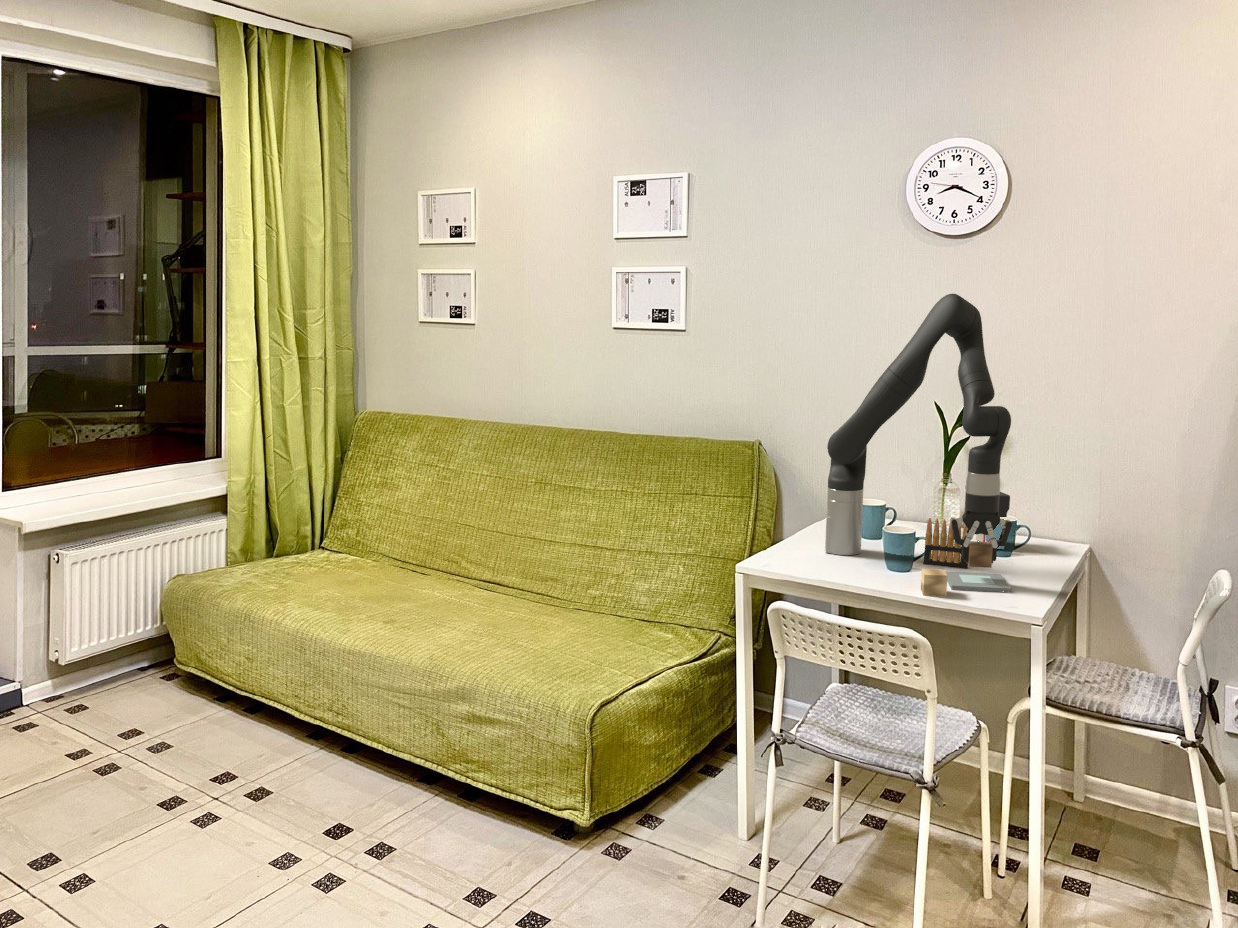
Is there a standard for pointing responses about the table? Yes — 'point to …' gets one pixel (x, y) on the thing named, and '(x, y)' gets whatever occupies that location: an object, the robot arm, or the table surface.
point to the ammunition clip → (943, 547)
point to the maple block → (933, 582)
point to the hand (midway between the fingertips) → (978, 561)
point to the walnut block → (980, 554)
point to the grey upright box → (1003, 509)
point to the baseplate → (977, 581)
